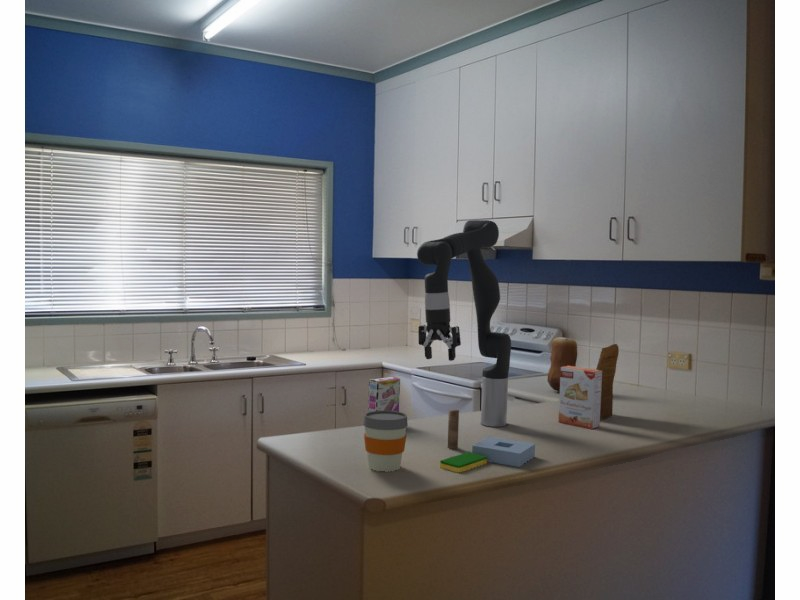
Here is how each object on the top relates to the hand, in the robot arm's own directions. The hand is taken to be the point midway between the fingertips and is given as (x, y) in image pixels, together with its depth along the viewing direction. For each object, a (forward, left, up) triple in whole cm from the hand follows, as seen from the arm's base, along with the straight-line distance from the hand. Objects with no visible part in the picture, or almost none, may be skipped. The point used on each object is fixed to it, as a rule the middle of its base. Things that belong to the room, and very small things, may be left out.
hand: (440, 359), depth 224 cm
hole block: (-5, +20, -28) cm, 35 cm away
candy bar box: (-20, -31, -29) cm, 47 cm away
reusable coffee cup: (+24, -4, -29) cm, 38 cm away
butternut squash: (-121, +2, -29) cm, 124 cm away
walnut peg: (-6, +3, -29) cm, 29 cm away
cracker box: (-62, +27, -29) cm, 73 cm away
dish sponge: (+9, +13, -29) cm, 33 cm away
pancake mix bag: (-80, +31, -29) cm, 90 cm away
